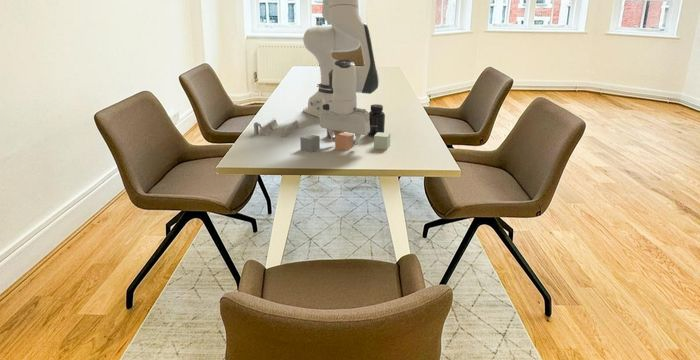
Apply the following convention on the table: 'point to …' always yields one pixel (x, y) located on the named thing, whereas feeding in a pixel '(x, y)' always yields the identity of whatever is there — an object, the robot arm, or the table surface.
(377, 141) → the sage cube
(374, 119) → the supplement bottle
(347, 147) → the terracotta cube
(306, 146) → the slate grey cube
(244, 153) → the table surface
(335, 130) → the walnut cube
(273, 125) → the skate ramp
